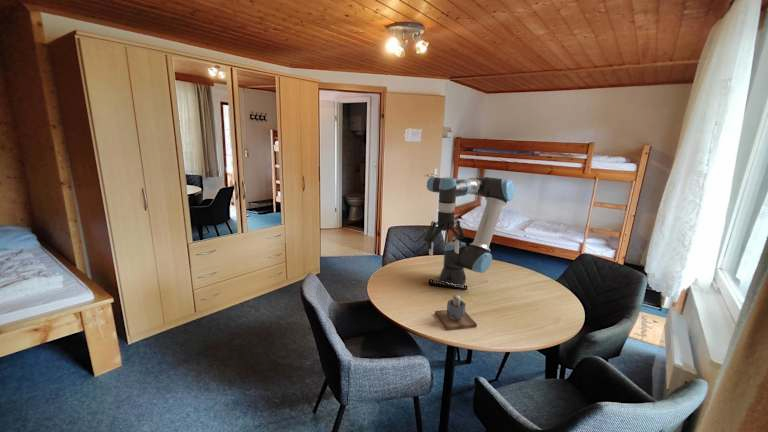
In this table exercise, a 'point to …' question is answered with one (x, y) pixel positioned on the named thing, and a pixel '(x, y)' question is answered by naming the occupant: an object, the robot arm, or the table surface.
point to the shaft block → (453, 322)
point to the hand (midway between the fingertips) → (443, 253)
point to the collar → (456, 309)
